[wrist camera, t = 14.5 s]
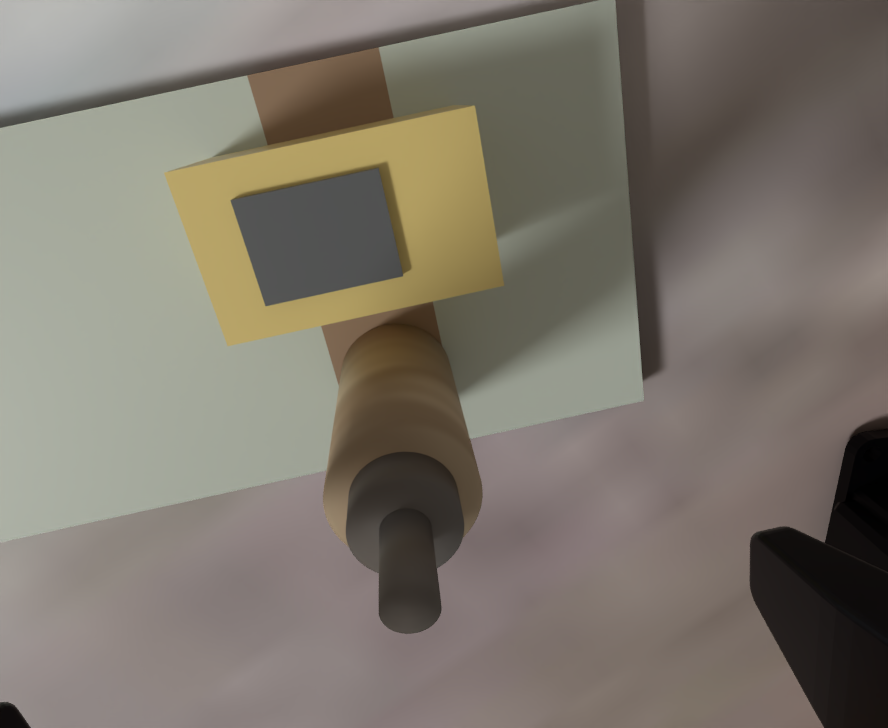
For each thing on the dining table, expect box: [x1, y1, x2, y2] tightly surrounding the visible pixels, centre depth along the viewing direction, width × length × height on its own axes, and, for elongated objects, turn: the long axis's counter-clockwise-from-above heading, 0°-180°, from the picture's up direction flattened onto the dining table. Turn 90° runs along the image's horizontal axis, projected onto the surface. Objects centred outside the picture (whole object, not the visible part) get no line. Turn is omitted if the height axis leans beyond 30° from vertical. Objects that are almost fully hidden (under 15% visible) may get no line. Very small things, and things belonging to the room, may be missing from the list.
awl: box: [323, 324, 482, 634], centre depth 11 cm, size 3×3×7 cm
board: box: [0, 0, 644, 542], centre depth 14 cm, size 18×9×1 cm, turn 101°
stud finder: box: [164, 105, 504, 346], centre depth 12 cm, size 5×3×3 cm, turn 101°
